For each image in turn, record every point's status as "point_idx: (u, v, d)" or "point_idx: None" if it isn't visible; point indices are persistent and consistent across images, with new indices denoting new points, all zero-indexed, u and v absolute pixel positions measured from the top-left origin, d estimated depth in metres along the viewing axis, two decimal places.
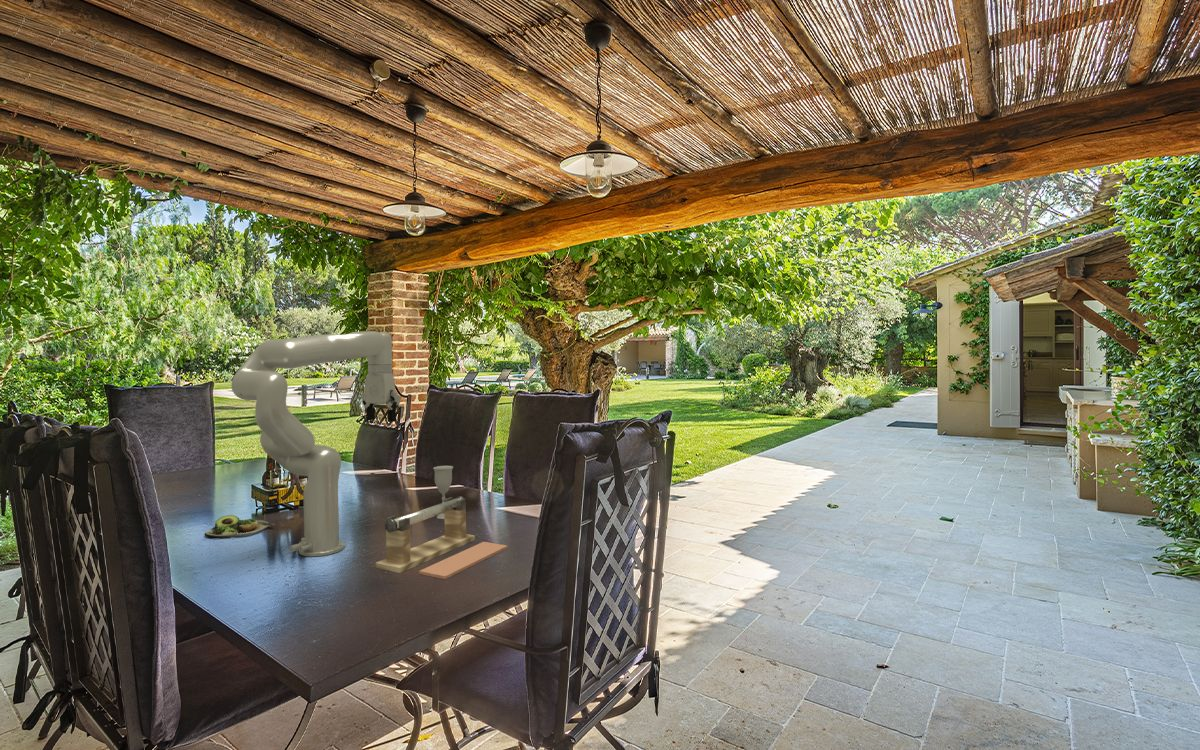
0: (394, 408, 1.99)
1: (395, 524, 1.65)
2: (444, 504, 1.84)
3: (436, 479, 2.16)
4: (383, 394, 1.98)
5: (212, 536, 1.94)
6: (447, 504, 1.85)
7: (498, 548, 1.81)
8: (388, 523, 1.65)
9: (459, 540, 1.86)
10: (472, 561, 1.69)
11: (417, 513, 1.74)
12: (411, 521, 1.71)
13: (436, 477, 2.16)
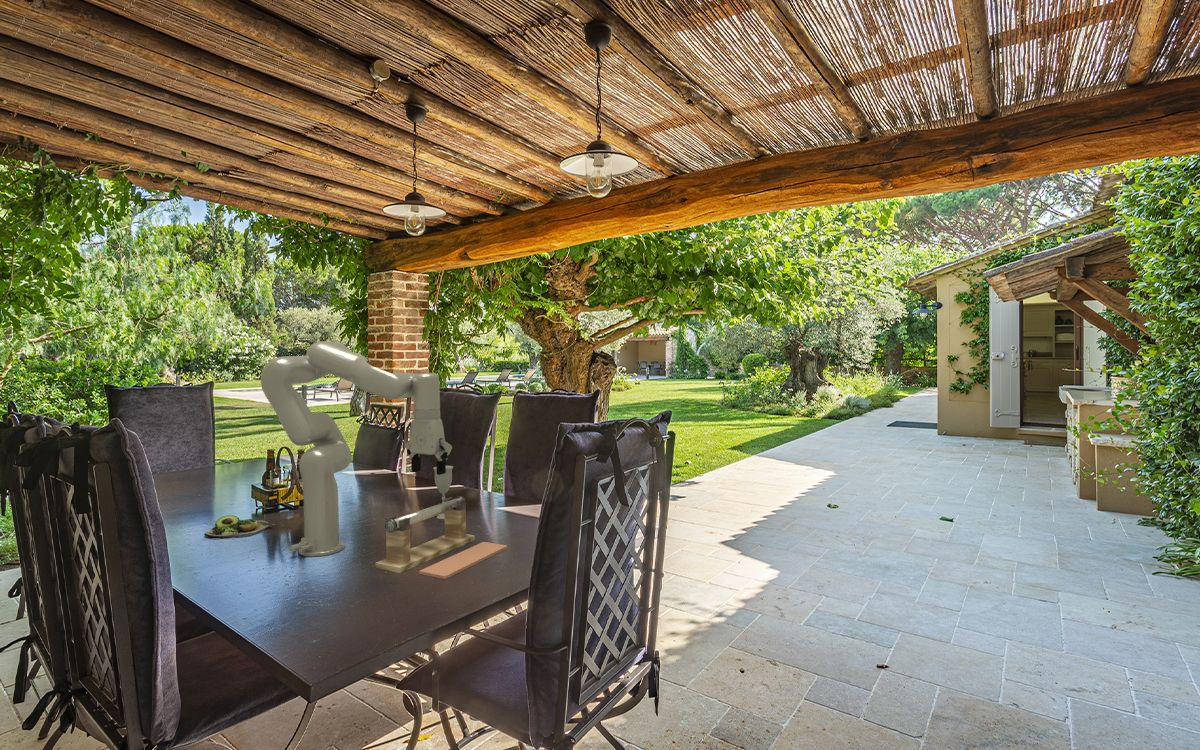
0: (444, 459, 1.75)
1: (395, 524, 1.65)
2: (444, 504, 1.84)
3: (436, 479, 2.16)
4: (432, 444, 1.74)
5: (212, 536, 1.94)
6: (447, 504, 1.85)
7: (498, 548, 1.81)
8: (388, 523, 1.65)
9: (459, 540, 1.86)
10: (472, 561, 1.69)
11: (417, 513, 1.74)
12: (411, 521, 1.71)
13: (436, 477, 2.16)
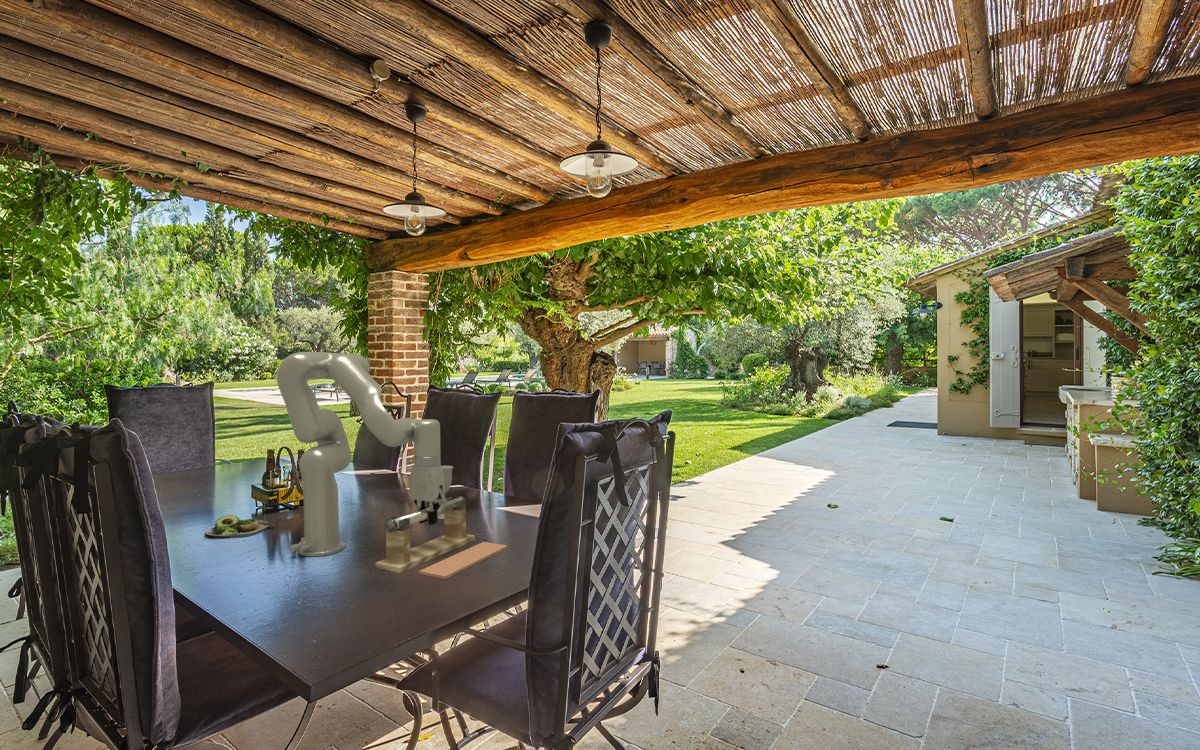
0: (436, 509, 1.77)
1: (395, 524, 1.65)
2: (444, 504, 1.84)
3: None
4: (432, 491, 1.74)
5: (212, 536, 1.94)
6: (447, 504, 1.85)
7: (498, 548, 1.81)
8: (388, 523, 1.65)
9: (459, 540, 1.86)
10: (472, 561, 1.69)
11: (417, 513, 1.74)
12: (411, 521, 1.71)
13: None
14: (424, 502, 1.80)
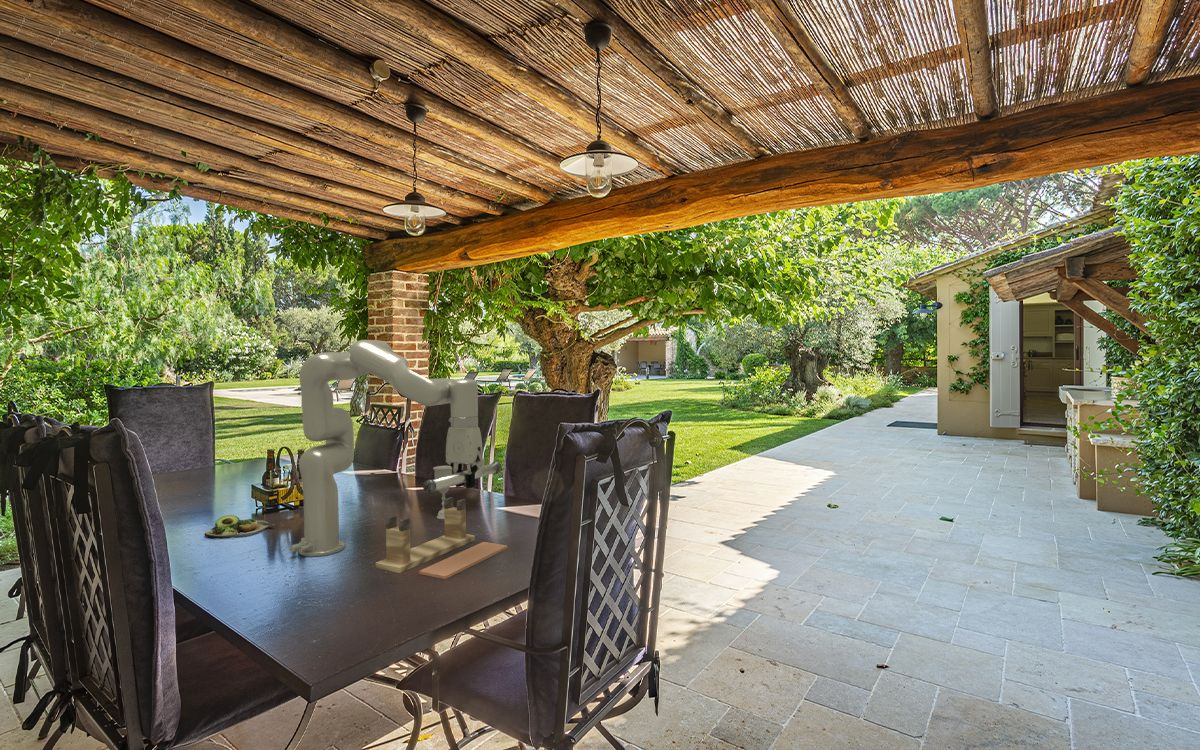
0: (474, 472, 1.70)
1: (434, 485, 1.58)
2: (481, 468, 1.77)
3: None
4: (470, 452, 1.67)
5: (212, 536, 1.94)
6: (484, 468, 1.78)
7: (498, 548, 1.81)
8: (426, 484, 1.59)
9: (459, 540, 1.86)
10: (472, 561, 1.69)
11: (455, 475, 1.67)
12: (449, 483, 1.64)
13: (436, 477, 2.16)
14: (461, 465, 1.74)
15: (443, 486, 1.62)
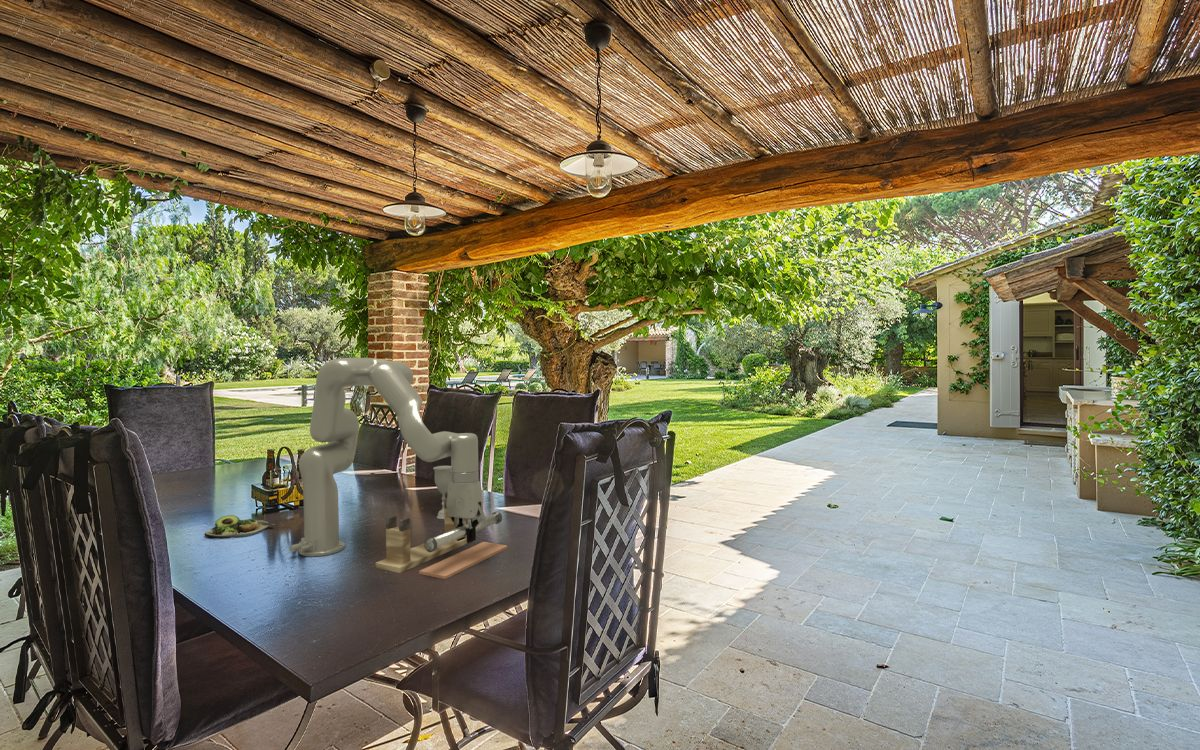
0: (474, 526, 1.71)
1: (435, 543, 1.59)
2: None
3: (436, 479, 2.16)
4: (470, 508, 1.68)
5: (212, 536, 1.94)
6: (484, 520, 1.78)
7: (498, 548, 1.81)
8: (427, 542, 1.59)
9: None
10: (472, 561, 1.69)
11: (456, 531, 1.67)
12: (450, 539, 1.64)
13: (436, 477, 2.16)
14: (461, 519, 1.74)
15: (444, 543, 1.62)
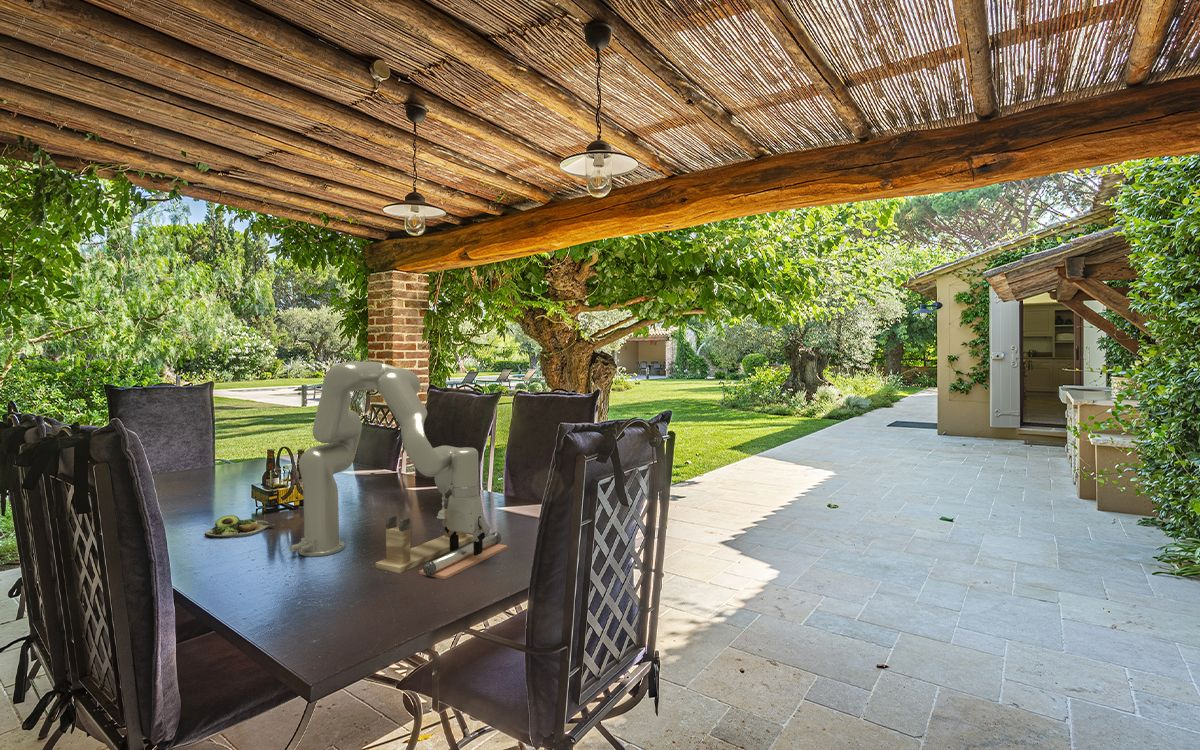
0: (481, 539, 1.70)
1: (434, 566, 1.59)
2: None
3: (436, 479, 2.16)
4: (471, 523, 1.68)
5: (212, 536, 1.94)
6: (483, 541, 1.79)
7: (498, 548, 1.81)
8: (426, 566, 1.60)
9: (459, 540, 1.86)
10: (472, 561, 1.69)
11: (454, 553, 1.68)
12: (449, 562, 1.65)
13: (436, 477, 2.16)
14: None
15: (443, 566, 1.63)
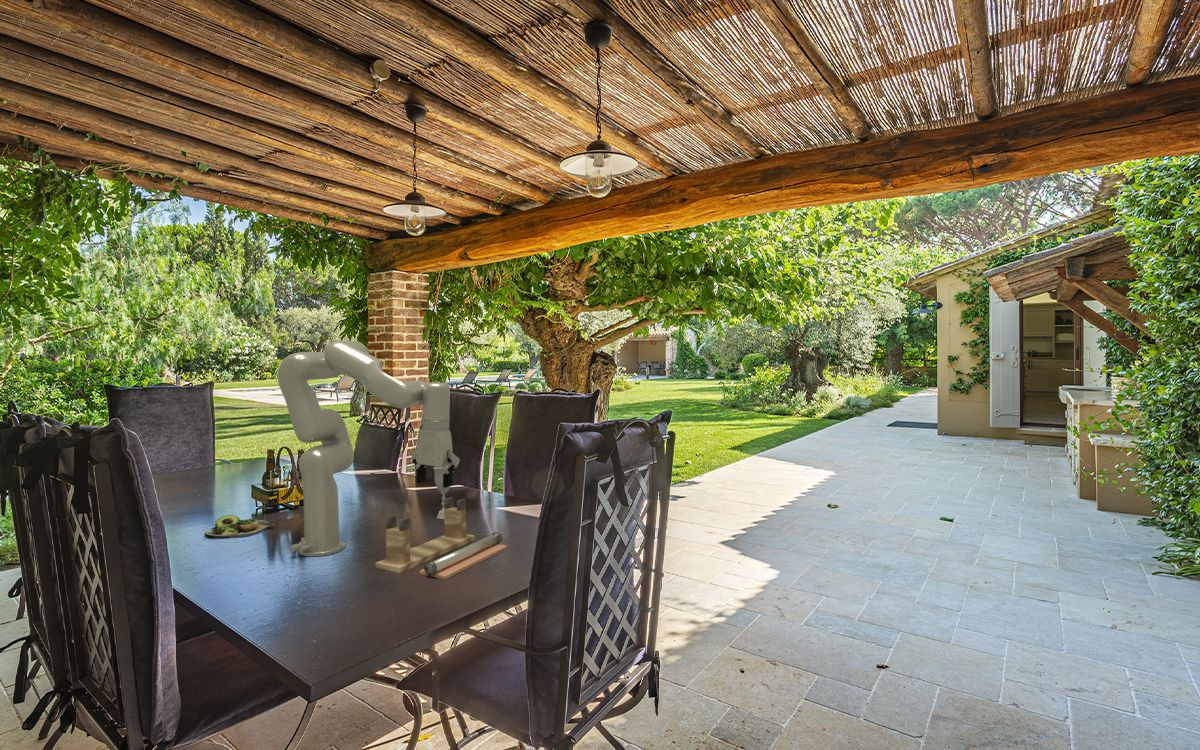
0: (451, 472, 1.71)
1: (435, 567, 1.59)
2: (481, 542, 1.78)
3: (436, 479, 2.16)
4: (439, 456, 1.69)
5: (212, 536, 1.94)
6: (484, 542, 1.79)
7: (498, 548, 1.81)
8: (427, 566, 1.60)
9: (459, 540, 1.86)
10: (472, 561, 1.69)
11: (456, 554, 1.68)
12: (450, 563, 1.65)
13: (436, 477, 2.16)
14: None
15: (444, 567, 1.63)
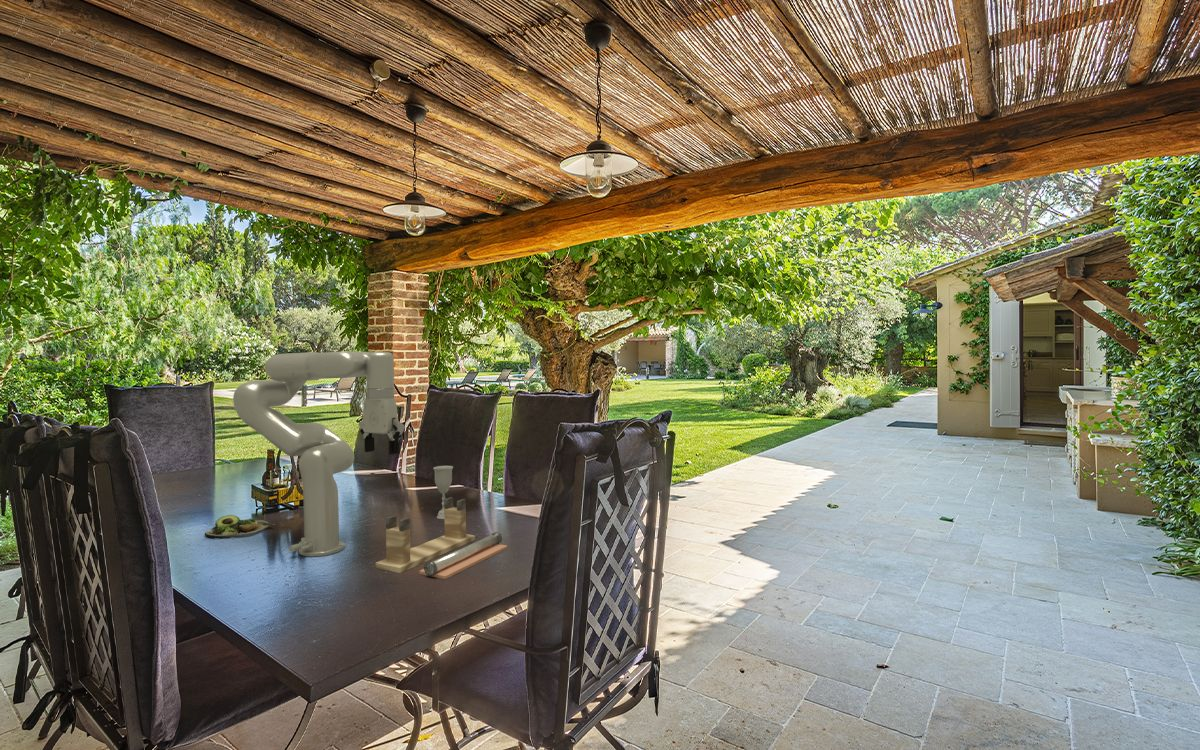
0: (396, 439, 1.74)
1: (435, 567, 1.59)
2: (481, 542, 1.78)
3: (436, 479, 2.16)
4: (384, 423, 1.72)
5: (212, 536, 1.94)
6: (484, 542, 1.79)
7: (498, 548, 1.81)
8: (427, 566, 1.60)
9: (459, 540, 1.86)
10: (472, 561, 1.69)
11: (456, 554, 1.68)
12: (450, 563, 1.65)
13: (436, 477, 2.16)
14: (372, 433, 1.79)
15: (444, 567, 1.63)
